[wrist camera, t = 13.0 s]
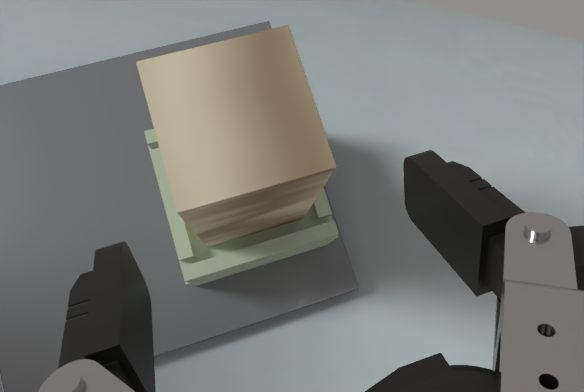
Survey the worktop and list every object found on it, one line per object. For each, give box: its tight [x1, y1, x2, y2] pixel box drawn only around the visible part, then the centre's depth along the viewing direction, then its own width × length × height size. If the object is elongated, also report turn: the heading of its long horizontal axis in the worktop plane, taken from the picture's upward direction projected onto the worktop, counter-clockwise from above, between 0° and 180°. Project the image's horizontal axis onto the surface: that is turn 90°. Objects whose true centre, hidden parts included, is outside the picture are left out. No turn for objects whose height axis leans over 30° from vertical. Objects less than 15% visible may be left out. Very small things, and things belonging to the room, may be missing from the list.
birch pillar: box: [136, 25, 336, 247], centre depth 20 cm, size 5×5×10 cm
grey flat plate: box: [0, 21, 359, 392], centre depth 29 cm, size 20×18×1 cm
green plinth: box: [144, 129, 339, 286], centre depth 26 cm, size 8×8×5 cm
